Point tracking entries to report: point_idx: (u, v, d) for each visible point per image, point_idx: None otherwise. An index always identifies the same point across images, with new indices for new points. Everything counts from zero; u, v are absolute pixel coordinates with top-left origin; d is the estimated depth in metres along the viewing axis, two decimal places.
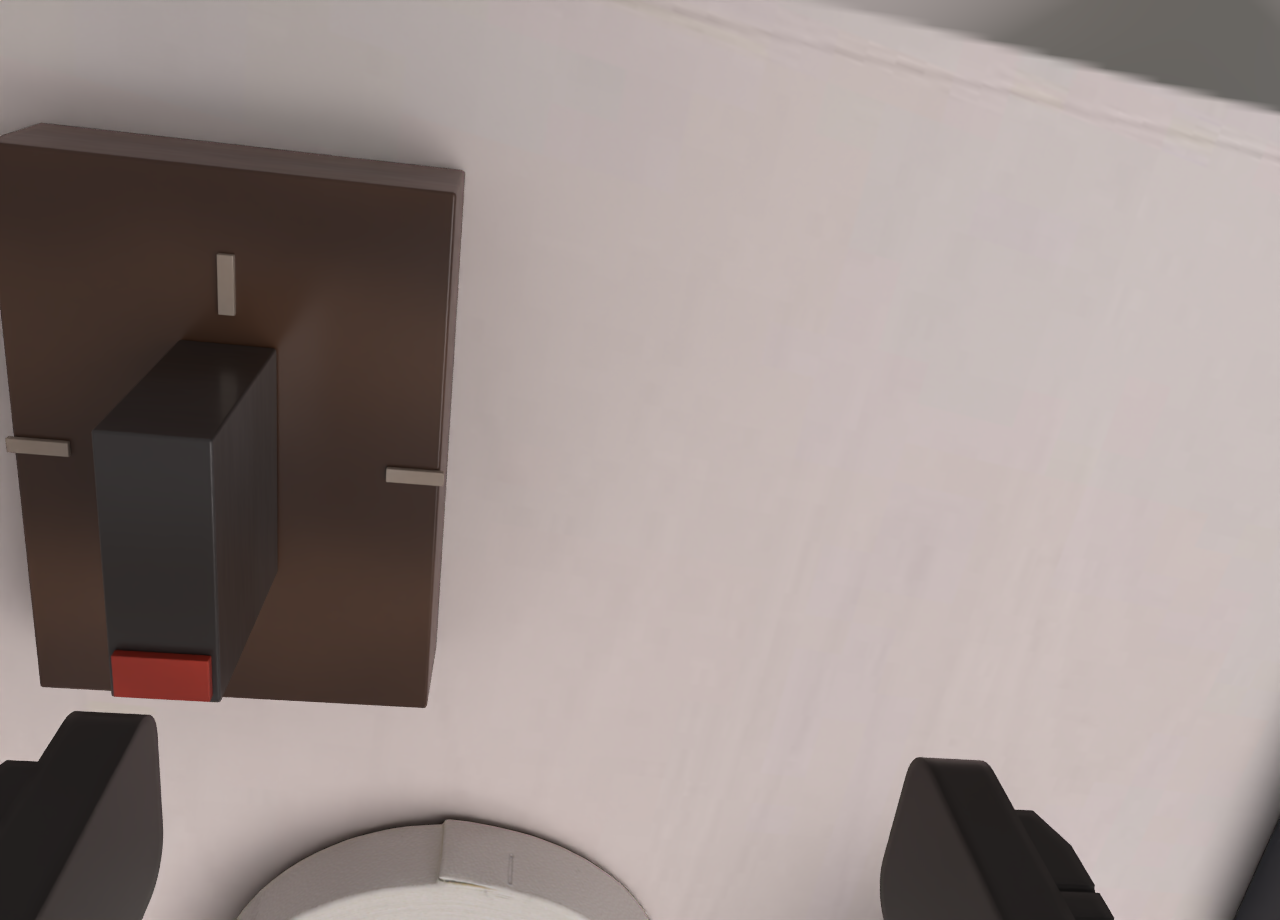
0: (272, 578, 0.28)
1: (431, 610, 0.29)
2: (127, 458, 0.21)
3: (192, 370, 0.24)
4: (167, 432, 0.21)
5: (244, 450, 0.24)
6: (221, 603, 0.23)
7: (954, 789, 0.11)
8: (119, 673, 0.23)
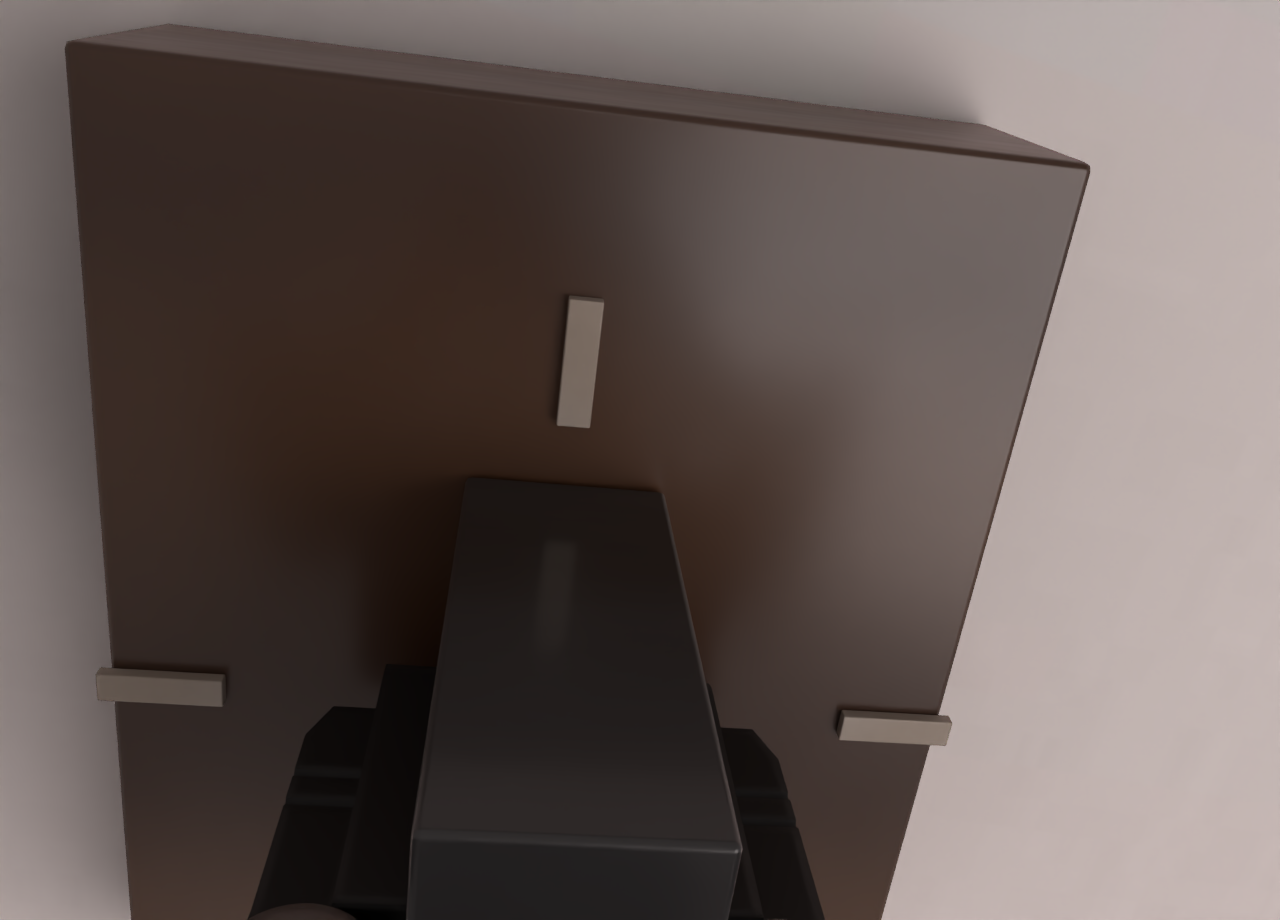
0: None
1: None
2: (506, 900, 0.07)
3: (543, 571, 0.10)
4: (616, 825, 0.07)
5: None
6: None
7: None
8: None
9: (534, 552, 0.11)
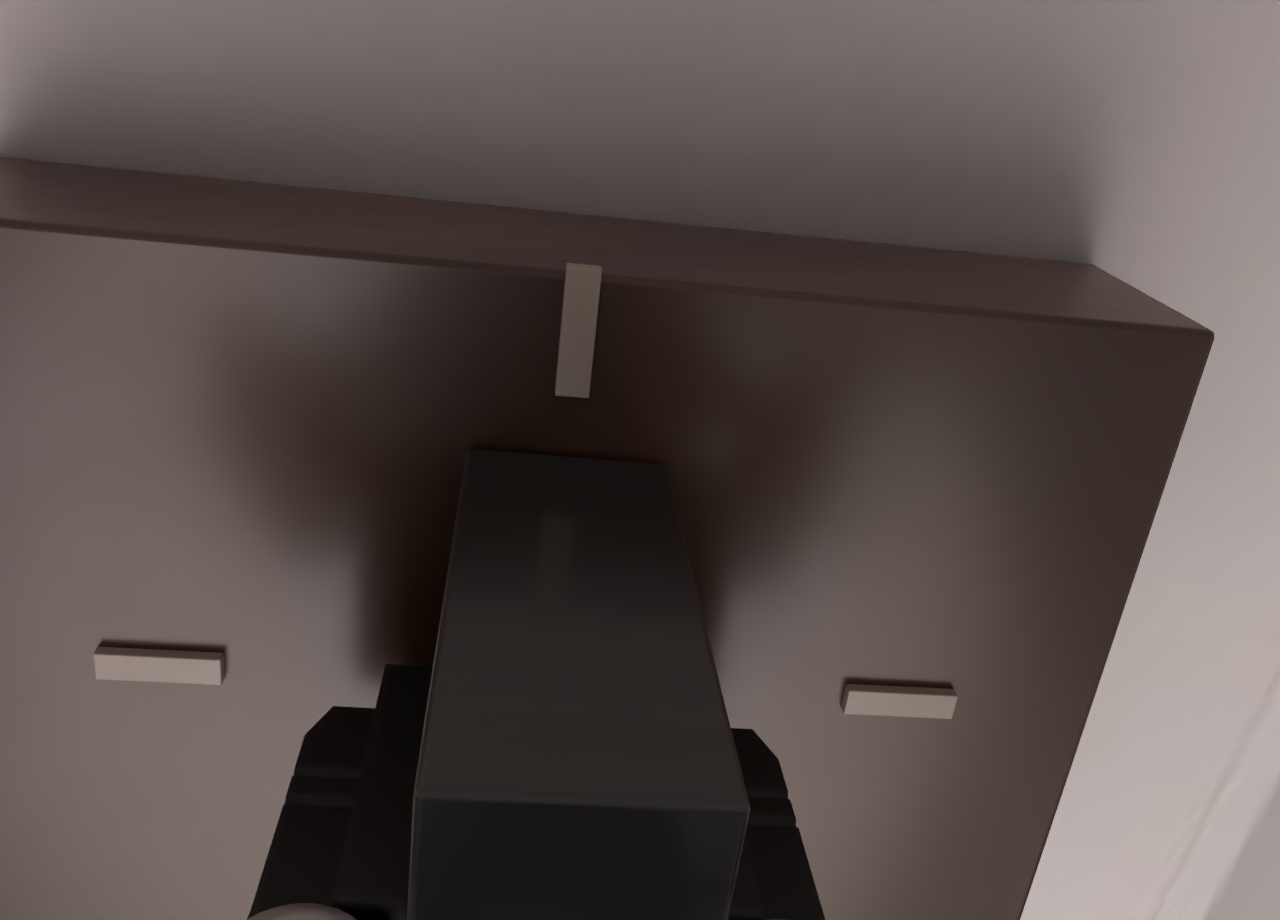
0: None
1: None
2: (510, 860, 0.07)
3: (545, 539, 0.10)
4: (623, 786, 0.07)
5: None
6: None
7: None
8: None
9: (536, 521, 0.11)
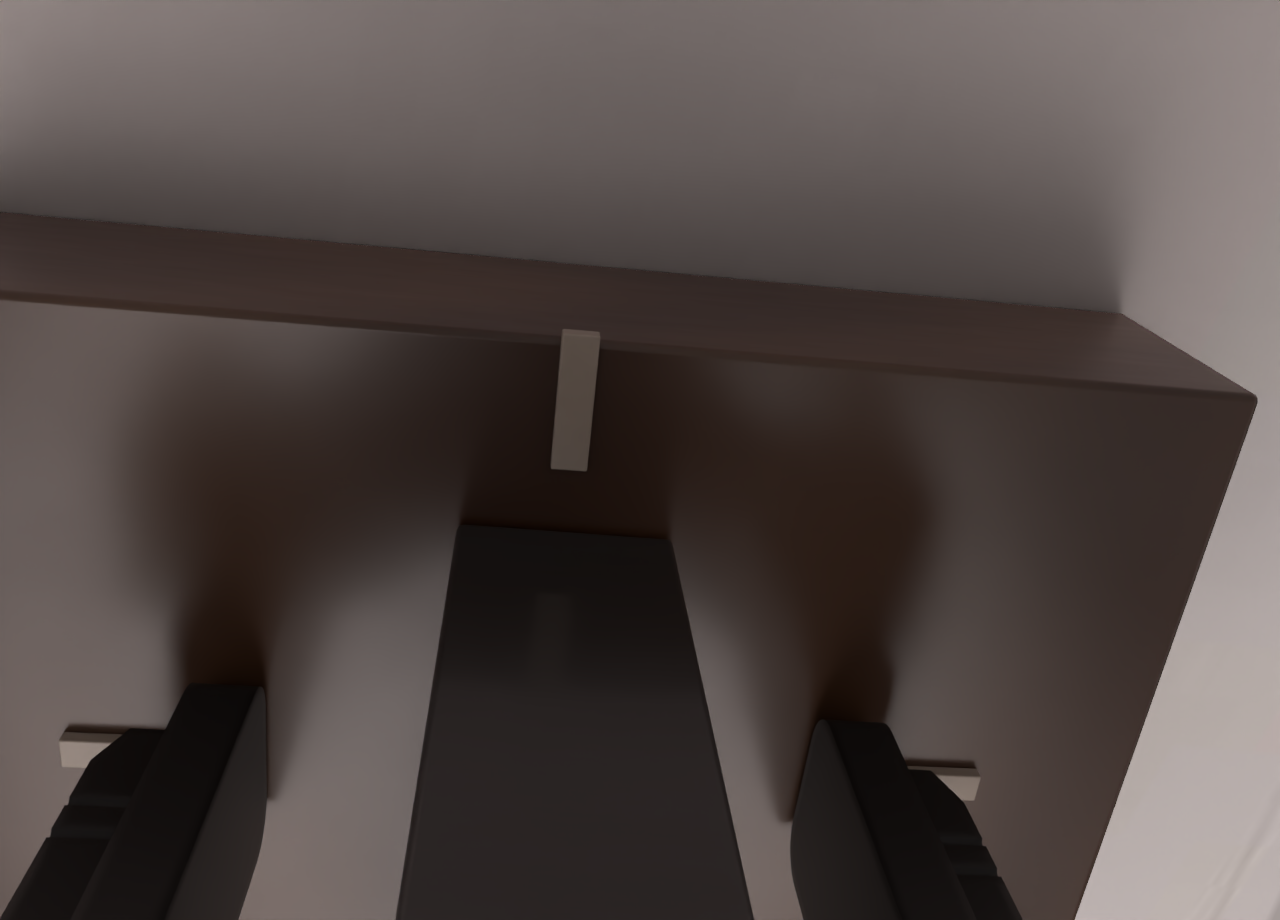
0: None
1: None
2: None
3: (541, 635, 0.10)
4: None
5: None
6: None
7: (850, 748, 0.12)
8: None
9: (531, 613, 0.10)
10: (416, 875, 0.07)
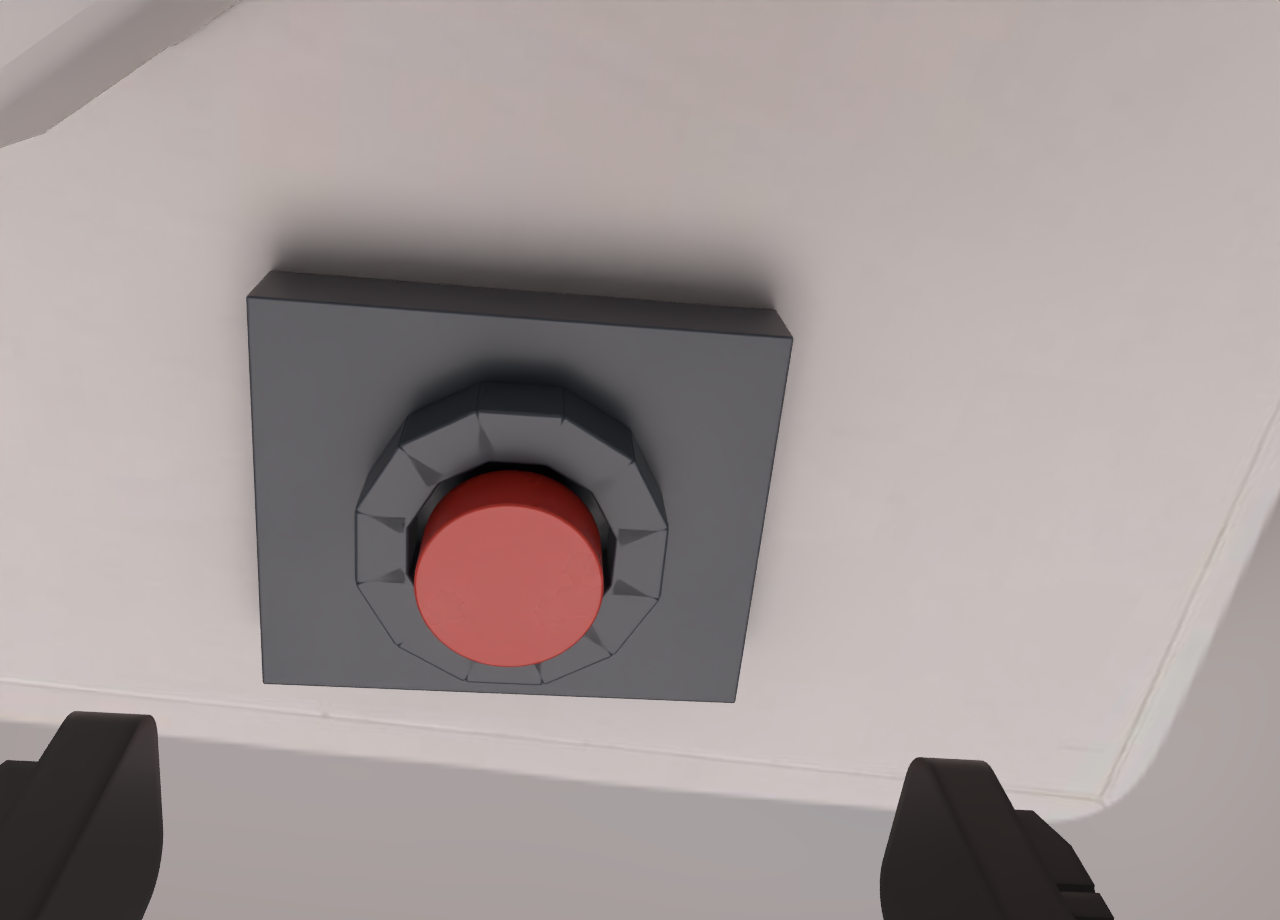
0: None
1: None
2: None
3: None
4: None
5: None
6: None
7: (953, 789, 0.11)
8: None
9: None
10: None
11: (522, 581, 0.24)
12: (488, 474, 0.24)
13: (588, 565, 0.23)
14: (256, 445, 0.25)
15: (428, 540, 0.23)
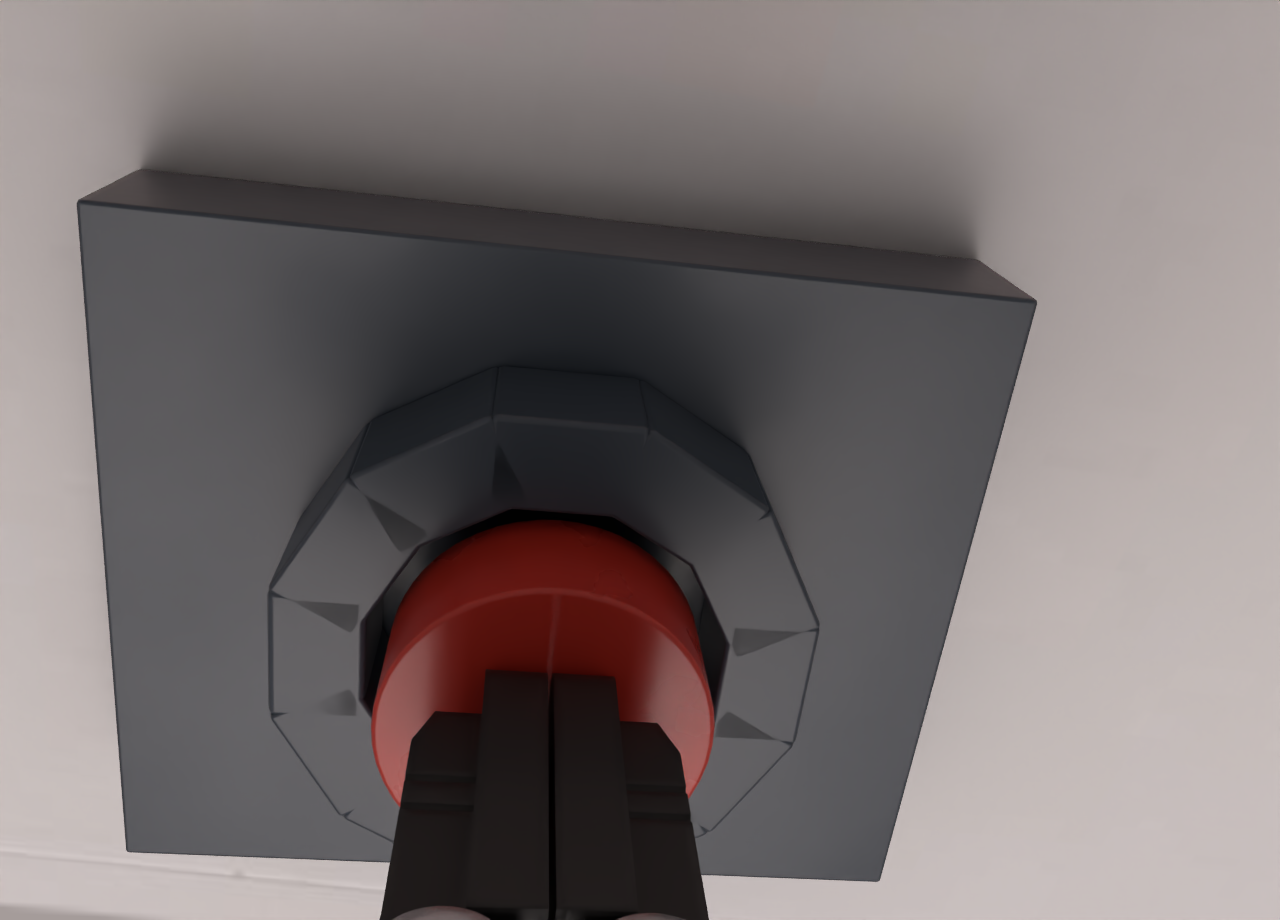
0: None
1: None
2: None
3: None
4: None
5: None
6: None
7: (567, 699, 0.12)
8: None
9: None
10: None
11: None
12: (509, 527, 0.14)
13: (690, 699, 0.13)
14: (103, 468, 0.15)
15: (399, 652, 0.12)
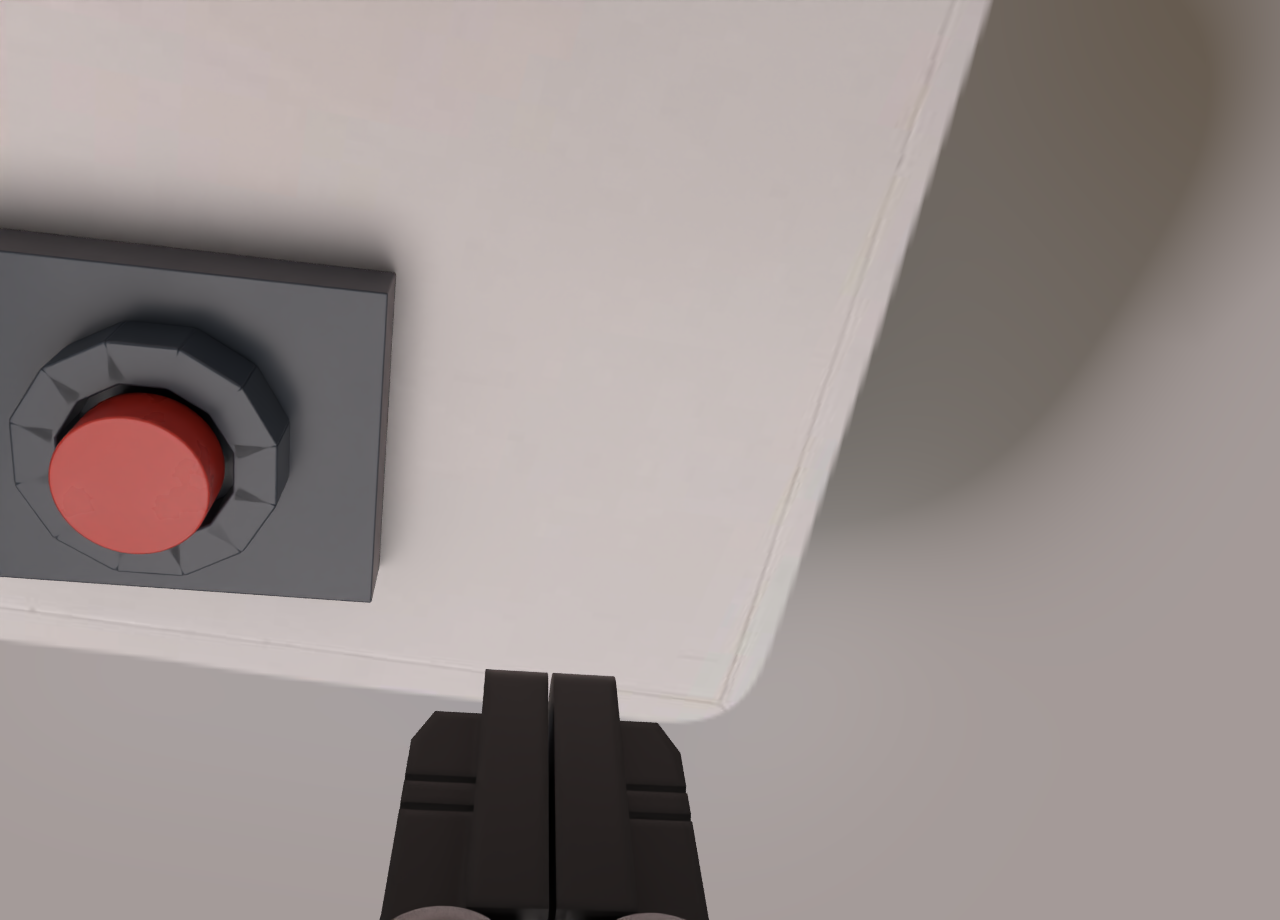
0: None
1: None
2: None
3: None
4: None
5: None
6: None
7: (567, 699, 0.12)
8: None
9: None
10: None
11: (139, 481, 0.29)
12: (121, 395, 0.30)
13: (194, 470, 0.29)
14: None
15: None
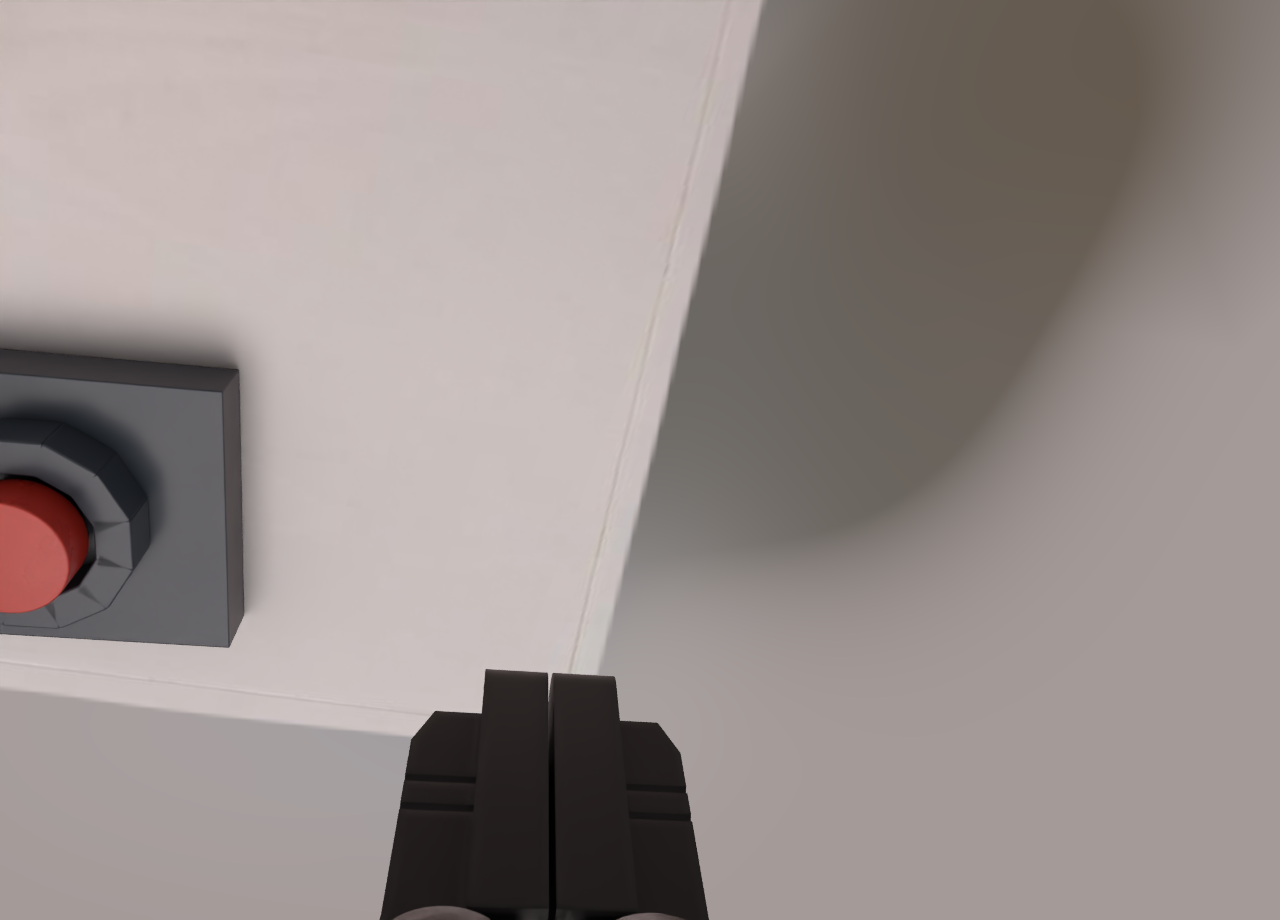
0: None
1: None
2: None
3: None
4: None
5: None
6: None
7: (567, 698, 0.12)
8: None
9: None
10: None
11: (9, 554, 0.35)
12: None
13: (54, 544, 0.35)
14: None
15: None
